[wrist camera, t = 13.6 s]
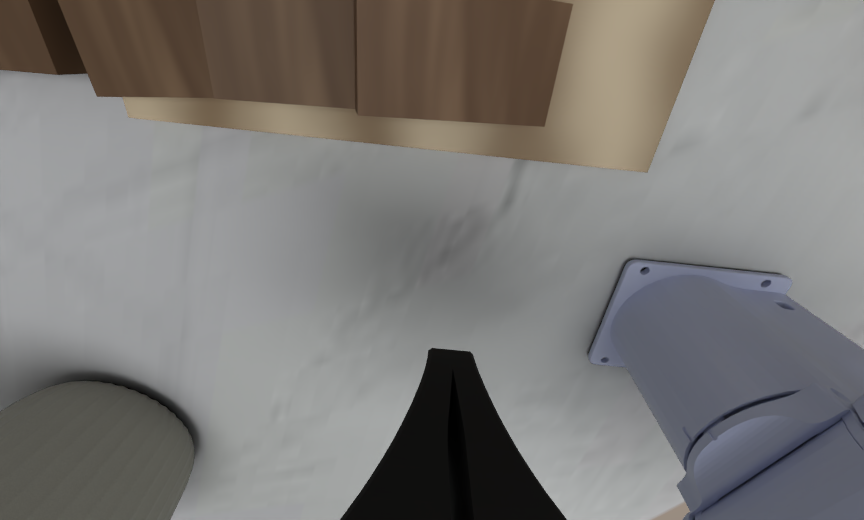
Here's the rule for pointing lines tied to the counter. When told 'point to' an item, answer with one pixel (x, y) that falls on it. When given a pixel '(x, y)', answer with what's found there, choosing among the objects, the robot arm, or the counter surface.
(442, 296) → the counter surface
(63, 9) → the domino
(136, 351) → the counter surface
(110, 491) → the canister
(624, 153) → the light wooden board
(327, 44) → the domino
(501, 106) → the domino
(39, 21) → the domino
